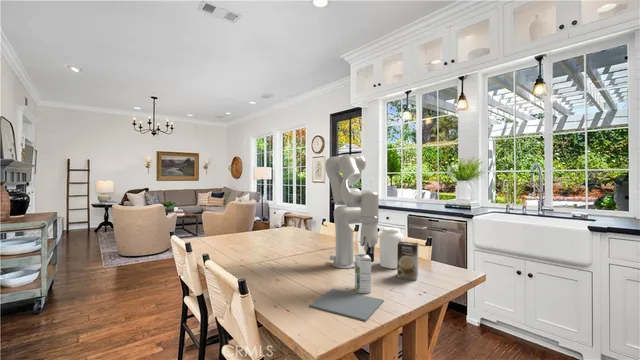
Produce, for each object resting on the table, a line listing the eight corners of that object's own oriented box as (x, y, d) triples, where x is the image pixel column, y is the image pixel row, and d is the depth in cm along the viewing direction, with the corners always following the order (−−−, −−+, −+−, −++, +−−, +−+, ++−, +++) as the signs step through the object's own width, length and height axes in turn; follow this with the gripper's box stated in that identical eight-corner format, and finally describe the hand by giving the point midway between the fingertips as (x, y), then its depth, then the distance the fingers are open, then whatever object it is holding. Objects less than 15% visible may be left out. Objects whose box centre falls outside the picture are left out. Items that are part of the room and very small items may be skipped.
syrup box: (354, 288, 126) (354, 254, 126) (368, 287, 126) (368, 253, 126) (357, 293, 120) (357, 257, 120) (371, 293, 120) (371, 257, 120)
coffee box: (396, 277, 138) (396, 243, 138) (399, 273, 144) (398, 241, 144) (417, 280, 135) (417, 245, 134) (418, 276, 140) (418, 242, 140)
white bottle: (406, 264, 159) (406, 227, 159) (399, 270, 149) (399, 231, 149) (384, 261, 166) (384, 225, 166) (376, 266, 156) (376, 228, 155)
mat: (309, 306, 108) (309, 304, 108) (332, 290, 124) (332, 288, 124) (366, 321, 97) (366, 319, 97) (383, 301, 112) (383, 299, 112)
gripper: (367, 217, 138) (368, 256, 138) (355, 221, 125) (355, 264, 125) (383, 218, 134) (383, 258, 134) (371, 222, 121) (372, 267, 122)
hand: (369, 261), depth 130 cm, fingers closed
